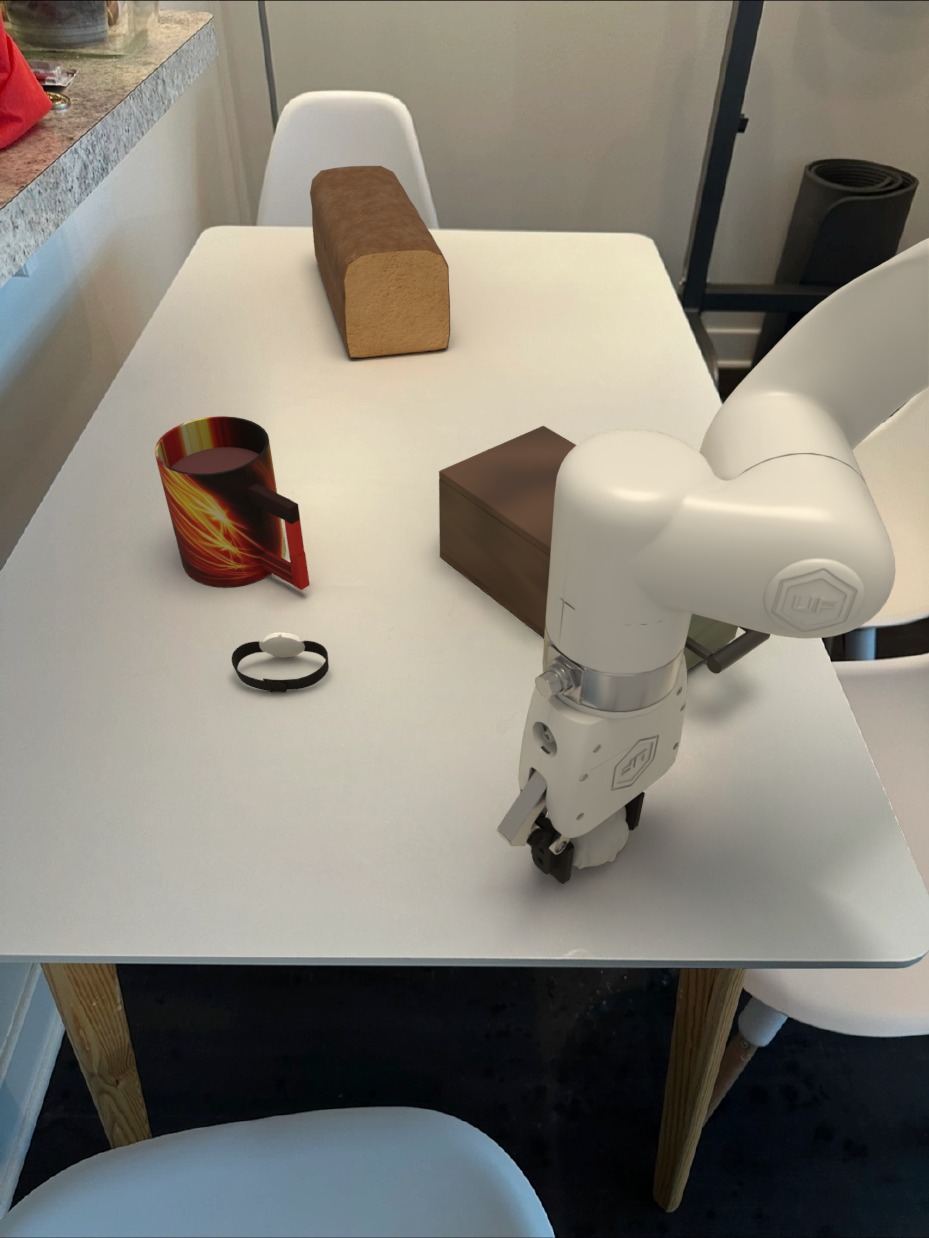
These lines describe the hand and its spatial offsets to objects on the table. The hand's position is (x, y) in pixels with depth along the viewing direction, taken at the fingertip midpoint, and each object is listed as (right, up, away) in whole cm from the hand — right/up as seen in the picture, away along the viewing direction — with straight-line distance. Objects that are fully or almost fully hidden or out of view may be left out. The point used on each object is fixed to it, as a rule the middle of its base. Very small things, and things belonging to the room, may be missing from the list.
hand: (585, 839), depth 62 cm
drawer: (+7, +13, +15) cm, 22 cm away
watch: (-23, +10, +13) cm, 28 cm away
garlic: (0, -1, +1) cm, 1 cm away
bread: (-21, +60, +67) cm, 92 cm away
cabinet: (-1, +20, +23) cm, 31 cm away
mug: (-28, +21, +24) cm, 42 cm away
